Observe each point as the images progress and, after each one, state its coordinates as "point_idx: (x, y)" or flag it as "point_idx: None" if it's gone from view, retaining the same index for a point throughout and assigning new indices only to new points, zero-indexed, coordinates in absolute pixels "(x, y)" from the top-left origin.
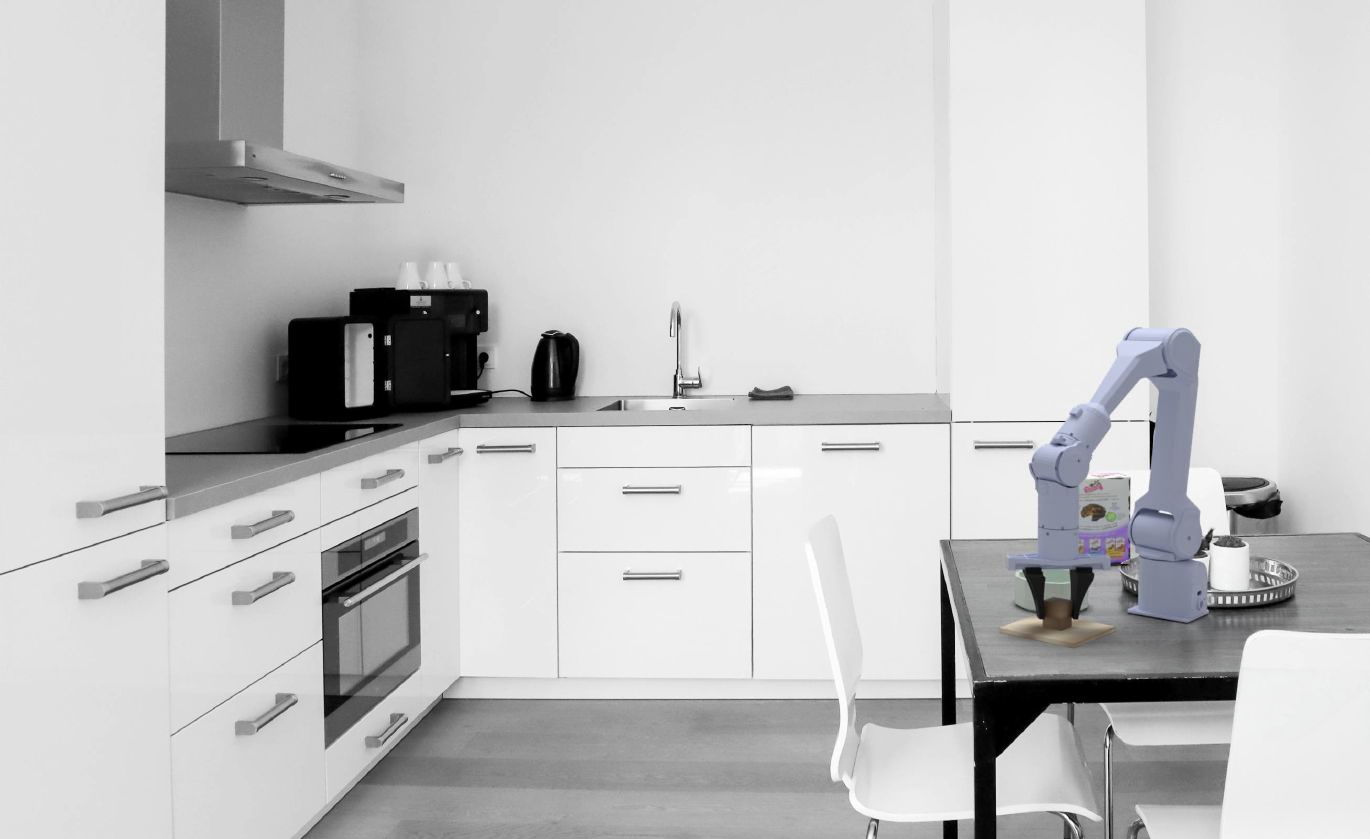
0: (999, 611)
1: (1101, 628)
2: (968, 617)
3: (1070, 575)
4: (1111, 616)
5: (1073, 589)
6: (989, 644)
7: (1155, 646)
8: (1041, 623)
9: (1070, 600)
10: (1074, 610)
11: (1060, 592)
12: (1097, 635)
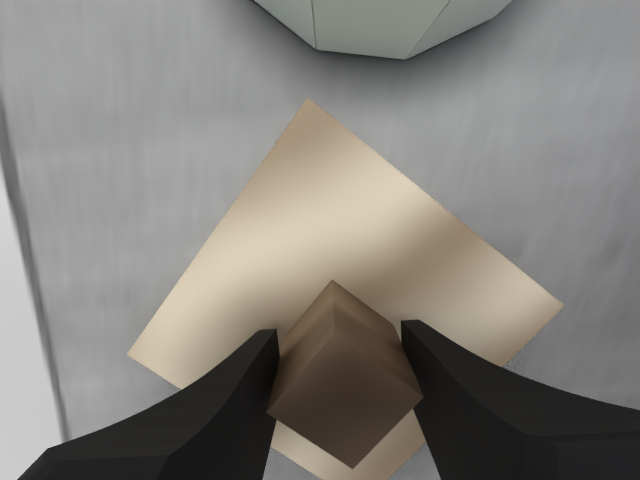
0: (126, 27)
1: (500, 335)
2: (5, 152)
3: (494, 440)
4: (618, 73)
5: (453, 450)
6: None
7: None
8: (286, 286)
9: (414, 402)
10: (414, 411)
11: (425, 15)
12: None
